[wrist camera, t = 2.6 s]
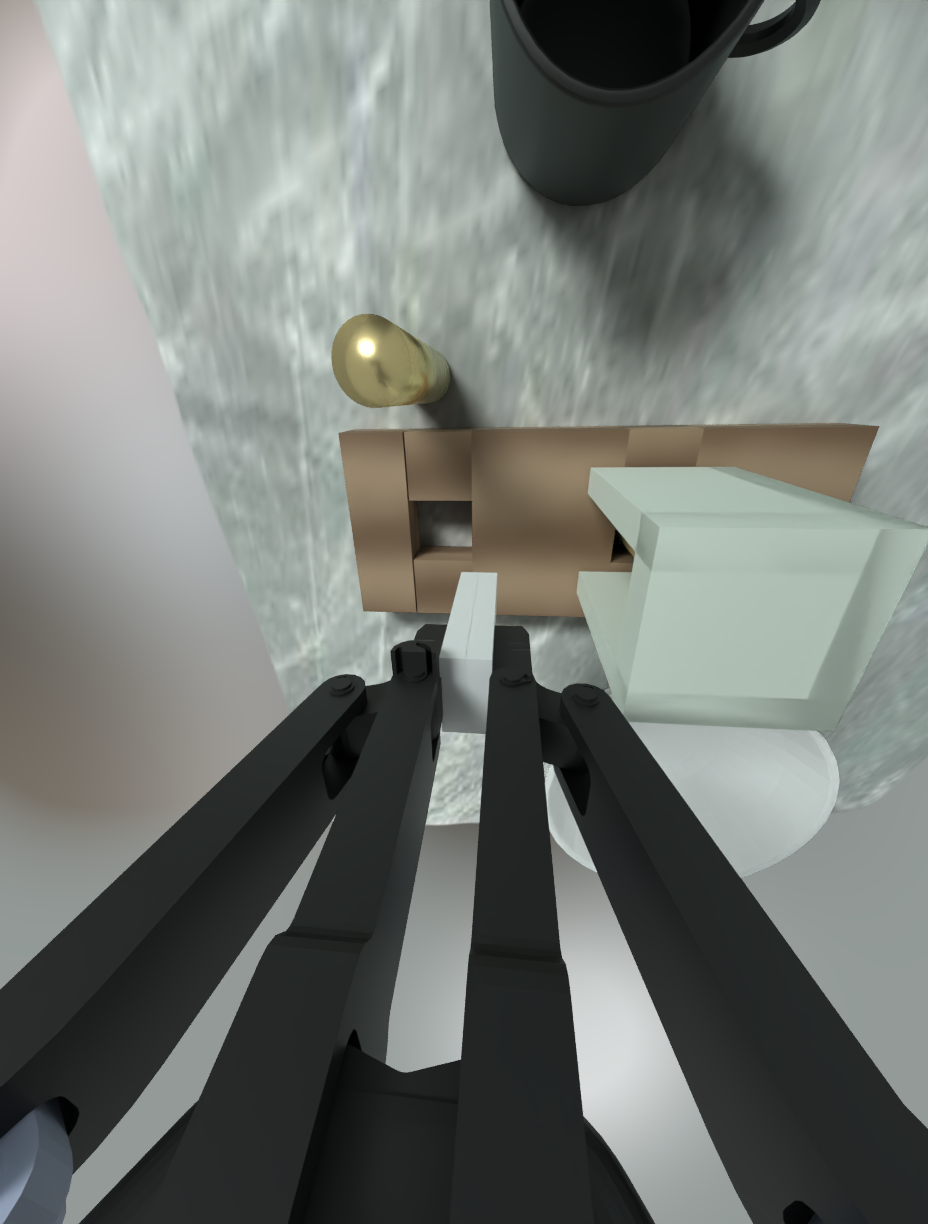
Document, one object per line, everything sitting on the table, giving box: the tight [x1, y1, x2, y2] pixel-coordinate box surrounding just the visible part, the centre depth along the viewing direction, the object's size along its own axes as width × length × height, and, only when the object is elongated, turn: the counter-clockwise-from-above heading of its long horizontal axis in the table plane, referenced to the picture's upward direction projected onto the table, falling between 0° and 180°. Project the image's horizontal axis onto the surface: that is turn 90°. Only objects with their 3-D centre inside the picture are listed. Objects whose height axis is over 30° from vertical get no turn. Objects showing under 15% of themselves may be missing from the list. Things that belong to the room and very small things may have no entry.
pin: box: [332, 314, 450, 408], centre depth 21 cm, size 3×3×12 cm
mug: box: [490, 0, 821, 206], centre depth 16 cm, size 9×12×9 cm
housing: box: [577, 467, 928, 732], centre depth 21 cm, size 8×8×13 cm
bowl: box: [545, 688, 840, 878], centre depth 33 cm, size 19×19×8 cm
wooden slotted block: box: [339, 423, 879, 617], centre depth 24 cm, size 12×30×12 cm, turn 91°
